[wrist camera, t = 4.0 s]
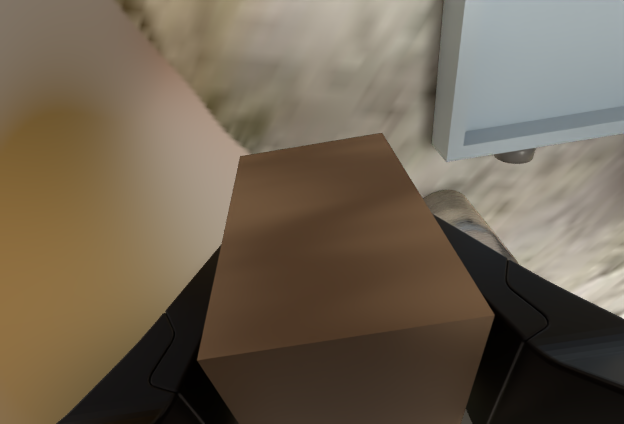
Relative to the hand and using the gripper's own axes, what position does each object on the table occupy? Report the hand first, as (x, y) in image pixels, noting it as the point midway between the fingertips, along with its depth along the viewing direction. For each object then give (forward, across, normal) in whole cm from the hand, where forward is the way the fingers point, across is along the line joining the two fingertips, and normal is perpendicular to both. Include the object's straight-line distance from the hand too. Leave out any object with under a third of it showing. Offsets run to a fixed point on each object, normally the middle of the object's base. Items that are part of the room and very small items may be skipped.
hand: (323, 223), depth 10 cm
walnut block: (+1, 0, 0) cm, 1 cm away
